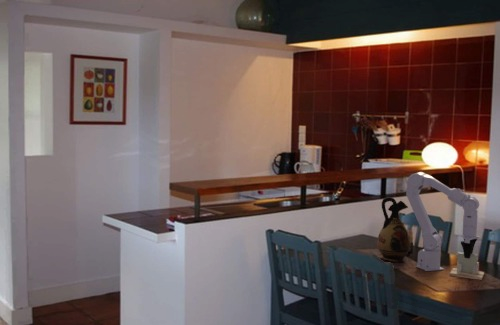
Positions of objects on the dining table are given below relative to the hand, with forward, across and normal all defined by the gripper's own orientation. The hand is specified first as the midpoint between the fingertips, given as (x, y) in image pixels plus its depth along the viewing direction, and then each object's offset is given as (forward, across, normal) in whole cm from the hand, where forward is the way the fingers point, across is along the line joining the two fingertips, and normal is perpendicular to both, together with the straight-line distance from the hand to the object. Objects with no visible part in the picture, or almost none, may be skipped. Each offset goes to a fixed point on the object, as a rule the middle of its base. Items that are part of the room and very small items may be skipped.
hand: (468, 256), depth 254 cm
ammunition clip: (+8, +25, +34) cm, 43 cm away
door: (+7, 0, 0) cm, 7 cm away
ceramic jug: (+8, +8, +35) cm, 37 cm away
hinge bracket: (+8, -2, 0) cm, 8 cm away
